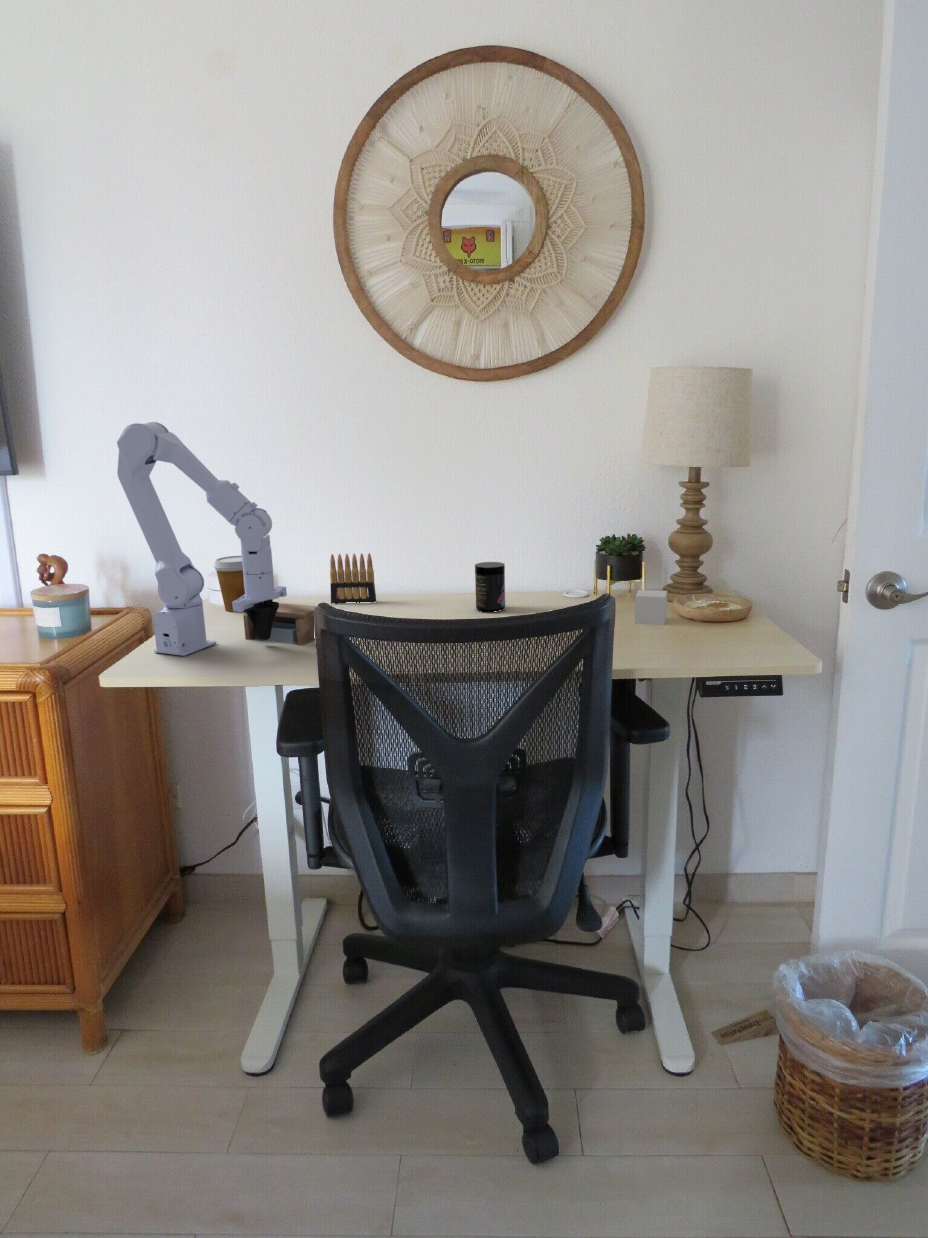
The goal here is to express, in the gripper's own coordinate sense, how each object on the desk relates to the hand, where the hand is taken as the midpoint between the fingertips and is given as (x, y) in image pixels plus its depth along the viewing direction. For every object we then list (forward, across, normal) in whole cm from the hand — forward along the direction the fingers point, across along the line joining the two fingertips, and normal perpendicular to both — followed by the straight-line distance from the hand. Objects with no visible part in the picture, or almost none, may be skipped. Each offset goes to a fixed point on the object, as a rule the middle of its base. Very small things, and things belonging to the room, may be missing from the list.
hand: (264, 638), depth 171 cm
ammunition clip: (+2, +38, +2) cm, 38 cm away
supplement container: (+2, +41, -32) cm, 52 cm away
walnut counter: (+1, +7, 0) cm, 7 cm away
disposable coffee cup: (+2, +24, +26) cm, 35 cm away
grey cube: (+2, +43, -68) cm, 80 cm away
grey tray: (+2, +6, 0) cm, 6 cm away
